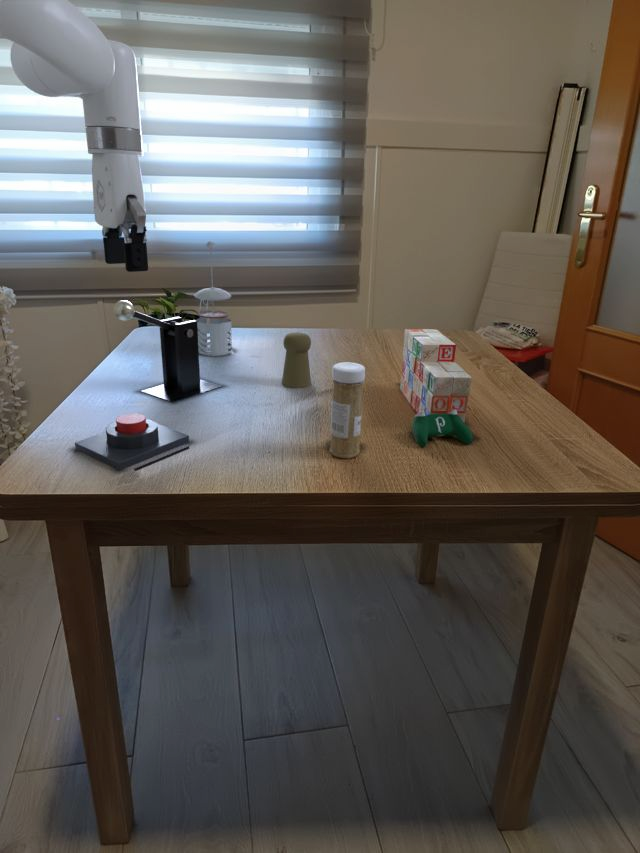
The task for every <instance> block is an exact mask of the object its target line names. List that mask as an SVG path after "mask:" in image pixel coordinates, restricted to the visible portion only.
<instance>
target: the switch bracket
mask: <svg viewBox="0 0 640 853" xmlns="http://www.w3.org/2000/svg"><path fill="white" fill-rule="evenodd" d="M159 320H160V321H163V322H166V323H168V324H170V322H171V321H173V322H177V324H174V327H175V337H174V336H171V335H168V334H167V333H168V330H167V329H164V328H161V327H159V338H160V339H159V340H160V352H161V353H160V354H161V363H162V364H161V366H162V379H163V384H160V385H156V386H152V387H149V388H146V389H142V390H140V391H139V392H140V393H143V394H146V395H149V396H152V397H154V398H157V399H160V400H164V401H167V402H169V403H172V404H175V403H177V402H181V401H184V400H187V399H189V398H192V397H195V396H199V395H201V394H204V393H208V392H211V391H214V390H217V389H221V388H223V385H221V384H218V383H214V382H211V381H208V380H204V379H202V378H201V374H200V373H201V372H200V354H199V348H198V327H197V321H196V320H195V319H193V320H188V321H183V317H180V316H174V317H170V318H165V319H159Z"/></svg>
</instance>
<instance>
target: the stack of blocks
mask: <svg viewBox="0 0 640 853" xmlns="http://www.w3.org/2000/svg"><path fill="white" fill-rule="evenodd" d="M456 348H457V344H456V343H454V342H453V341H452V340H450V338H448V337H446V336H445V335H444V334H443V333H441V331H439V330H438V329H433V328H432V329H430V328H429V329H428V328H420V329H419V328H417V329H416V328H415V329H413V328H412V329H411V328H410V329H409V328H408V329H407V328H406V329H404V341H403V349H402V350H403V351H402V367H401V375H400V391H401V393H402V394H403V396H404V398H405V399H406V400H407V402H408V404H409V405H410V406H411V407H412V409H413V410H414V411H415V412H416V415H417V414H418V413H419V412H421V411H424V412H425V415H431V414H448V413H450V412H451V411H452V410H457V414H458V415H459V416H460V418H461V419H462V421H463V422H464V423H466V413H467V409H468V403H469V395H470V392H471V387H472V376H471V375H470V374H468V373H467V372H466V370H464V368H462V367H461V366H460V365H459V364H458V363H456V362H455V358H456V350H457V349H456Z"/></svg>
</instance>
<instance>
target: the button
mask: <svg viewBox="0 0 640 853" xmlns="http://www.w3.org/2000/svg"><path fill="white" fill-rule="evenodd" d="M146 419H147V418H146V415H144V414H142V413H136V412H135V413H134V412H132V413H125V414H121V415H118V416H117V417H116V418H115V422H116V424H117V432H119V433H124V434H133V433H139V432H142V431H145V430H146V429H147V426H146Z"/></svg>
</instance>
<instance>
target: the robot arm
mask: <svg viewBox="0 0 640 853" xmlns="http://www.w3.org/2000/svg"><path fill="white" fill-rule="evenodd" d="M0 37H2V38H4V39H7V40H9V41H11V42H13V43H12V45H11V48H10V54H9V56H10V63H11V66H12V70H13V72H14V74H15V76H16V77H17V78H18V80H19V81H20V82H21V84H23V86H25V87H26V88H27V89H29V90H30V91H32V92H34V93H36V94H38V95H40V96H43V97H47V98H80V99H81V100H82V108H83V117H84V127H85V136H86V145H87V146H86V147H87V154H90V155H92V156H91V157H92V158H91V182H92V198H93V214H94V221H95V222H96V224H97V225H99V226H101V227H102V229H101V234H102V240H103V242H102V243H103V251H104V252H103V253H104V260H105V263H106V264H107V265H119V264H124V265H125V271H126V272H128V273H134V272H136V273H137V272H147V271H148V270H149V260H148V247H147V242H148V238H147V234H146V232H147V230H148V229H147V226H146V224H147V223H146V222H147V221H146V220H147V212H146V200H145V191H144V189H145V188H144V182H143V175H142V167H141V162H140V157H144V148H143V137H142V136H143V135H142V134H143V133H142V120H141V109H140V107H141V106H140V95H139V81H138V66H137V59H136V58H137V57H136V54H135V52H134V50H133V48H132V47H131V46H129V45H128V44H126V43H124V42H122V41H117V40H113V39H108V38H106V36H105V34H104V33H103V32H102V30H101V29H100V28H99V27H98V26H97V25H96V24H95V23H94V21H92V20H91V18H90V17H88V16H87V15H86V14H85V13H84V12H82V10H80V9H79V8H78V7H77V6H76V5H74V4H73V2H71V1H70V0H0Z"/></svg>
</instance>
